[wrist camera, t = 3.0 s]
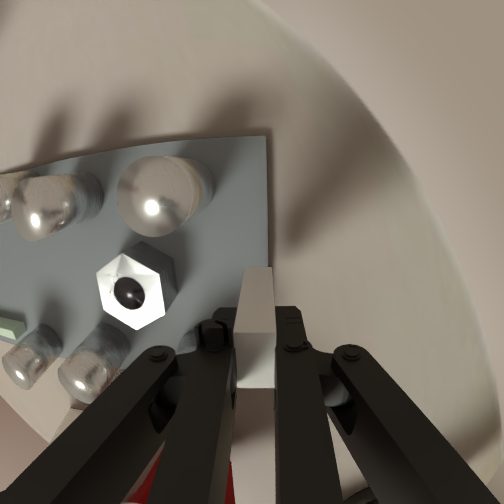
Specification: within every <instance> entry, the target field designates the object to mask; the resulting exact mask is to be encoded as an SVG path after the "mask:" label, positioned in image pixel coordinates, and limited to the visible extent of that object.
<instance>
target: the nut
mask: <svg viewBox="0 0 504 504" xmlns="http://www.w3.org/2000/svg"><path fill="white" fill-rule="evenodd" d="M96 276H97V281H98V286H99V291H100V295H101V300H102V304H103V308H104V310H105V311H106V312H108V313H109V314H111V315H113V316H114V317H116V318H118V319H119V320H121V321H123V322H124V323H126V324H128V325H129V326H131V327H133V328H135V329H136V330H137V329H139V328H141V327H143V326H145V325H146V324H148V323H150V322H152V321H154V320H155V319H157V318H159V317H161V316H163V315H165V314H166V312H167V311H168V309H169V307H170V306H171V304H172V303H173V301H174V300H175V298H176V297H177V295H178V289H177V281H176V272H175V263H174V258H172V257H170V256H168V255H167V254H165V253H163V252H161V251H159V250H158V249H156V248H154V247H152V246H150V245H149V244H147V243H145V242H143V241H140V242H139V243H137V244H135V245H134V246H132V247H131V248H129V249H128V250H126V251H125V252H123V253H122V254H121V255H119V256H118V257H117V258H115V259H114V260H113V261H111V262H110V263H109V264H107V265H106V266H105V267H103V268H102V269H101V270H100V271H98V272H97V273H96Z"/></svg>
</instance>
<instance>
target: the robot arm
mask: <svg viewBox="0 0 504 504" xmlns="http://www.w3.org/2000/svg"><path fill="white" fill-rule="evenodd" d="M194 329H195V336H196V343H197V348H196V350H195V351H193V352H189V353H184V354H177V355H176V353H175V350H174V349H173V348H171V347H169V346H164V345H158V346H153V347H150V348H148V349H146V350H145V351H143V352H142V353H141V354H140V355H139V356H138V357H137V358H136V359H135V360H134V361H133V362H132V363H131V364H130V365H129V366H128V367H127V368H126V369H125V370H124V371H123V372H122V373H121V374H120V375H119V376H118V377H117V378H116V379H115V380H114V381H113V382H112V383H111V384H110V385H109V386H108V387H107V388H106V389H105V390H104V391H103V392H102V393H101V394H100V395H99V396H98V397H97V398H96V399H95V400H94V401H93V402H92V403H91V404H90V405H89V406H88V407H87V408H86V409H85V410H84V411H83V412H82V413H81V414H80V415H79V416H78V417H77V418H76V419H75V420H74V421H73V422H72V423H71V424H70V425H69V426H68V427H67V428H66V429H65V430H64V431H63V432H62V433H61V434H60V435H59V436H58V437H57V438H56V439H55V440H54V441H53V442H52V443H51V444H50V445H49V446H48V447H47V448H46V449H45V450H44V451H43V452H42V453H41V454H40V455H39V456H38V457H37V458H36V459H35V460H34V461H33V462H32V463H31V464H30V466H28V467H27V468H26V469H25V470H24V471H23V472H22V473H21V474H20V475H19V476H18V478H16V480H15V481H14V482H13V483H12V484H11V485H10V486H9V487H8V488H7V489H6V490H4V491H2V492H0V504H120V503H121V502H122V501H123V499H124V498H125V496H126V495H127V494H128V492H129V491H130V489H131V488H132V487H133V485H134V484H135V482H136V481H137V480H138V478H139V477H140V475H141V474H142V472H143V471H144V469H145V468H146V467H147V465H148V464H149V462H150V461H151V459H152V458H153V456H154V455H155V454H156V452H157V451H158V449H159V448H160V446H161V445H162V443H163V442H164V440H165V439H166V441H165V444H164V447H163V450H162V454H161V457H160V460H159V463H158V466H157V470H156V473H155V476H154V479H153V483H152V486H151V489H150V492H149V496H148V499H147V502H146V504H225V495H226V487H227V478H228V469H229V460H230V452H231V443H232V434H233V425H234V417H235V408H236V399H237V394H236V384H237V388H275V390H274V410H275V472H276V504H500V503H499V502H498V500H497V499H496V498H495V497H494V495H493V494H492V493H491V492H490V491H489V489H488V488H487V487H486V486H485V485H484V483H483V482H482V481H481V480H480V479H479V477H478V476H477V475H476V474H475V473H474V471H473V470H472V469H471V468H470V467H469V466H468V464H467V463H466V462H465V461H464V460H463V458H462V457H461V456H460V455H459V454H458V453H457V451H456V450H455V449H454V448H453V447H452V446H451V444H450V443H449V442H448V441H447V440H446V439H445V438H444V436H443V435H442V434H441V433H440V432H439V431H438V430H437V428H436V427H435V426H434V425H433V424H432V423H431V422H430V420H429V419H428V418H427V417H426V416H425V415H424V414H423V412H422V411H421V410H420V409H419V408H418V407H417V406H416V404H415V403H414V402H413V401H412V400H411V399H410V398H409V397H408V395H407V394H406V393H405V392H404V391H403V390H402V389H401V388H400V387H399V385H398V384H397V383H396V382H395V381H394V380H393V379H392V378H391V377H390V375H389V374H388V373H387V372H386V371H385V370H384V369H383V368H382V367H381V365H380V364H379V363H378V362H377V361H376V360H375V359H374V358H373V357H372V355H371V354H370V353H369V352H368V351H367V350H366V349H364V348H363V347H360V346H358V345H352V344H347V345H342V346H339V347H337V348H336V349H335V350H334V353H333V354H331V353H325V352H320V351H317V350H315V349H314V348H312V345H311V343H310V342H309V341H307V337H306V332H305V328H304V323H303V319H302V315H301V311H300V310H299V309H298V308H297V307H296V306H275V303H274V289H273V274H272V267H253V268H245V269H244V275H243V280H242V286H241V291H240V297H239V303H238V307H219V308H218V309H217V310H216V311H215V312H214V313H213V316H212V319H207V320H204V321H201V322H199V323H198V324H197V325H196V326H195V327H194ZM326 411H327V412H326ZM327 413H328V415H329V417H330V418H331V420H332V422H333V424H334V426H335V427H336V429H337V431H338V433H339V434H340V436H341V438H342V440H343V441H344V443H345V445H346V447H347V448H348V450H349V452H350V453H351V455H352V457H353V459H354V460H355V462H356V464H357V466H358V467H359V469H360V471H361V473H362V474H363V476H364V478H365V479H366V481H367V483H368V485H369V486H370V488H367V489H365V490H363V491H361V492H359V493H357V494H355V495H354V496H352V497H350V498H349V499H348V500H346V501H345V502H344V503H343V498H342V492H341V486H340V480H339V474H338V469H337V463H336V458H335V453H334V447H333V442H332V437H331V432H330V427H329V422H328V417H327ZM166 437H167V438H166Z"/></svg>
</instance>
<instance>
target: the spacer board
mask: <svg viewBox="0 0 504 504" xmlns="http://www.w3.org/2000/svg"><path fill="white" fill-rule="evenodd" d="M154 155H155V156H167V157H178V158H188V159H195V160H198V161H200V162H202V163H203V164H204V165H206V166H207V167H208V168H209V170H210V171H211V173H212V175H213V178H214V181H215V191H214V196H213V198H212V200H211V202H210V203H209V205H208V206H207V207H206V208H205V209H204V210H202V211H201V212H199V213H198V214H197V215H195V216H194V217H192V218H191V219H190V220H188V221H187V222H185V223H184V224H183V225H181V226H180V227H179V228H177V229H176V230H174V231H173V232H171V233H169V234H167V235H164V236H160V237H148V236H144V235H141V234H139V233H137V232H135V231H134V230H132V229H131V228H130V227H129V226H128V225H127V224H126V223H125V221H124V220H123V218H122V216H121V215H120V212H119V210H118V206H117V199H116V193H117V186H118V183H119V180H120V178H121V176H122V174H123V172H124V171H125V170H126V168H127V167H128V166H129V165H130V164H131V163H133V162H134V161H136V160H138V159H140V158H142V157H146V156H154ZM24 171H35V172H37V173H38V174H39V175H40V176H49V175H58V174H67V173H77V172H90V173H92V174H93V175H95V176H96V177H97V178H98V179H99V181H100V183H101V185H102V188H103V193H104V201H103V206H102V208H101V211H100V212H99V214H98V215H97V216H96V217H95V218H94V219H92V220H89V221H86V222H84V223H81V224H78V225H76V226H73V227H71V228H68V229H66V230H63V231H60V232H58V233H56V234H53V235H51V236H48V237H46V238H43V239H41V240H39V241H36V242H30V241H27V240H26V239H24V238H23V237H22V236H21V235H20V234H19V232H18V231H17V229H16V227H15V225H14V222H13V220H12V221H8V222H5V223H2V224H0V317H3V318H7V319H11V320H16V321H20V322H24V324H25V327H26V330H27V331H26V332H25V333H24V334H22V335H21V336H20V337H19V338H18V339H17V340H15V339H11V338H8V337H5V336H2V335H0V340H1V341H4V342H7V343H11V344H14V345H16V344H17V343H19V342H20V341H21V340H22V339H23V338H24V337H26V336H27V335H28V334H29V333H30V332H31V331H33V330H34V329H35V328H36V327H37V326H38V325H40V324H46V325H48V326H50V327H51V328H53V329H54V330H55V331H56V333H57V334H58V335H59V337H60V339H61V341H62V343H63V352H62V354H61V355H60V356H59V357H61V358H65V359H67V358H68V357H69V356H70V355H71V354H72V352H73V351H74V350H75V349H76V348H77V347H78V346H79V345H80V344H81V343H82V341H83V340H84V339H85V338H86V337H87V336H88V335H89V334H90V333H91V332H92V331H93V330H94V329H95V327H96V326H98V325H99V324H103V323H107V324H111V325H113V326H115V327H117V328H118V329H120V330H121V331H122V332H123V333H124V334H125V336H126V337H127V339H128V341H129V344H130V352H129V354H128V356H127V357H126V359H125V360H124V362H123V364H122V365H121V367H120V368H119V369H122V370H125V369H126V368H127V367H128V366H129V365H130V364H131V363H132V362H133V361H134V360H135V359H136V358H137V357H138V356H139V355H140V354H141V353H142V352H143V351H145V350H146V349H148V348H150V347H153V346H158V345H164V346H169V347H171V348H173V349H174V350H175V351H176V349H177V347H178V344H179V342H180V340H181V338H182V337H183V336H184V335H185V334H186V333H188V332H190V331H194V330H195V329H194V327H195V326H196V325H197V324H198V323H199V322H201V321H204V320H207V319H212V316H213V313H214V312H215V311H216V310H217V309H218V308H219V307H238V303H239V297H240V291H241V286H242V280H243V275H244V269H245V268H253V267H268V213H267V159H266V136H237V137H218V138H203V139H191V140H181V141H171V142H162V143H154V144H147V145H139V146H133V147H126V148H120V149H114V150H108V151H103V152H98V153H92V154H87V155H83V156H78V157H73V158H69V159H64V160H60V161H56V162H52V163H48V164H44V165H40V166H37V167H33V168H30V169H26V170H23V171H19V172H24ZM140 241H143V242H145V243H147V244H149V245H150V246H152V247H154V248H156V249H158V250H159V251H161V252H163V253H165V254H167V255H168V256H170V257H172V258H174V263H175V272H176V281H177V289H178V295H177V297H176V298H175V300H174V301H173V303H172V304H171V306H170V307H169V309H168V311H167V312H166V314H165V315H163V316H161V317H159V318H157V319H155V320H154V321H152V322H150V323H148V324H146V325H145V326H143V327H141V328H139V329H137V330H136V329H135V328H133V327H131V326H129V325H128V324H126V323H124V322H123V321H121V320H119V319H118V318H116V317H114V316H113V315H111V314H109V313H108V312H106V311H105V310H104V308H103V304H102V300H101V295H100V291H99V286H98V281H97V276H96V273H97V272H98V271H100V270H101V269H102V268H103V267H105V266H106V265H107V264H109V263H110V262H111V261H113V260H114V259H115V258H117V257H118V256H119V255H121V254H122V253H123V252H125V251H126V250H128V249H129V248H131V247H132V246H134V245H135V244H137V243H139V242H140Z"/></svg>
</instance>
